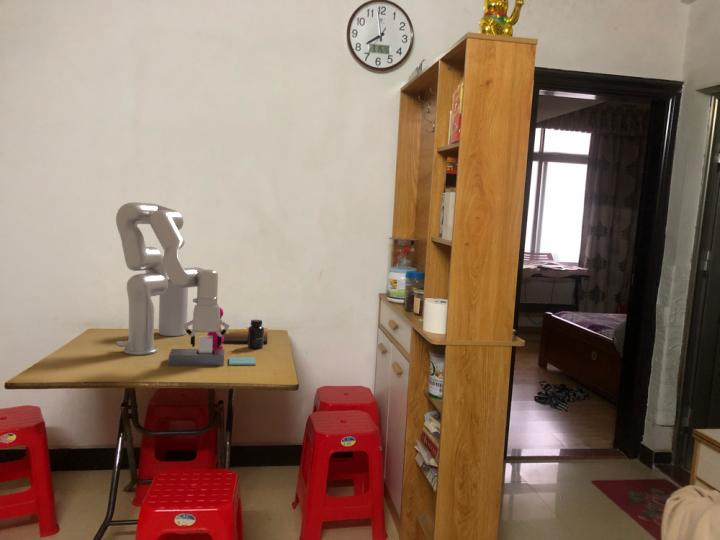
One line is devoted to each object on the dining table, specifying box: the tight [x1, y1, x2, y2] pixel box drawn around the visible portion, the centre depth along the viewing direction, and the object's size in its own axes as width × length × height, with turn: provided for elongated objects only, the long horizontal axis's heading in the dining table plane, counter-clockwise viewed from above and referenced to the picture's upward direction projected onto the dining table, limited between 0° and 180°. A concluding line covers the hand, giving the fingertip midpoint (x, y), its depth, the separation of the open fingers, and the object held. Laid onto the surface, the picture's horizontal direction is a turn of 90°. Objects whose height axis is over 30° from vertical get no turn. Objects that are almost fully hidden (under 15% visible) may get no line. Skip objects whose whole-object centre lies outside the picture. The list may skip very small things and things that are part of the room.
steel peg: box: [198, 335, 213, 354], centre depth 223 cm, size 5×5×10 cm
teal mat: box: [228, 356, 257, 367], centre depth 227 cm, size 10×10×1 cm
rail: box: [168, 348, 225, 367], centre depth 223 cm, size 20×10×4 cm, turn 102°
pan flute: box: [223, 327, 268, 345], centre depth 270 cm, size 25×3×25 cm
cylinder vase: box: [158, 278, 189, 337], centre depth 269 cm, size 12×12×25 cm
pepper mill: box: [206, 303, 224, 349], centre depth 243 cm, size 7×7×20 cm
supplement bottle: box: [246, 319, 265, 350], centre depth 252 cm, size 7×7×12 cm
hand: (205, 346), depth 223 cm, fingers open, 8 cm apart
